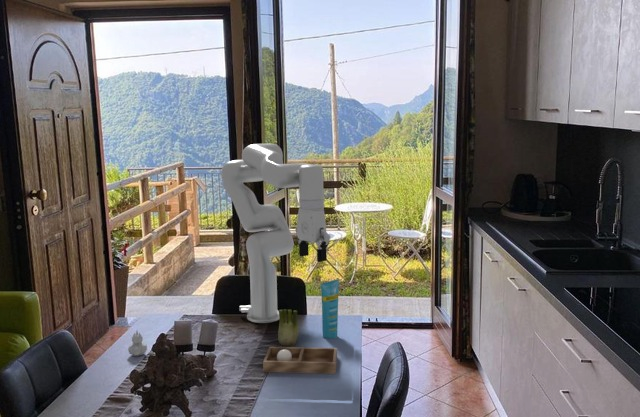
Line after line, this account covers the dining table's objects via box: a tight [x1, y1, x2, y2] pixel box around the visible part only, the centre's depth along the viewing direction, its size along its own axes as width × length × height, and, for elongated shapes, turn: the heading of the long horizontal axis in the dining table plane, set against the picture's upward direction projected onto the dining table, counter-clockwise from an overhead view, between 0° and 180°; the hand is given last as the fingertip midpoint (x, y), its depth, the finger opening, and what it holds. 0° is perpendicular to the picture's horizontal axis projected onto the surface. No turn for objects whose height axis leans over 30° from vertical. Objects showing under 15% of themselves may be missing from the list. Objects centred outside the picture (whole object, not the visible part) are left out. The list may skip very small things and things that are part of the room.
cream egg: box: [277, 349, 292, 361], centre depth 161 cm, size 4×4×4 cm
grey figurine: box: [128, 330, 148, 357], centre depth 169 cm, size 5×7×8 cm
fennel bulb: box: [277, 308, 299, 347], centre depth 175 cm, size 6×5×12 cm
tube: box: [320, 278, 340, 340], centre depth 182 cm, size 7×5×19 cm, turn 134°
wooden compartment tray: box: [262, 346, 338, 375], centre depth 161 cm, size 20×11×4 cm, turn 86°
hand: (312, 258), depth 174 cm, fingers open, 9 cm apart
